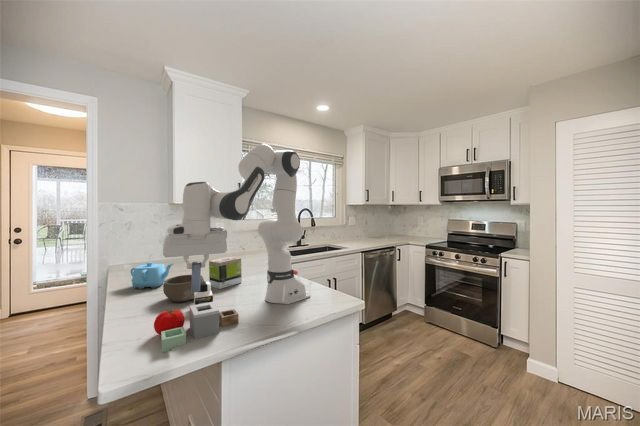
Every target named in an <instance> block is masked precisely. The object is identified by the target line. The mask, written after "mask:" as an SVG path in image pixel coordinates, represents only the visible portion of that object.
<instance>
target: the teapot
mask: <svg viewBox="0 0 640 426" xmlns="http://www.w3.org/2000/svg"><path fill="white" fill-rule="evenodd" d="M173 265H174V263H169V264H167V266H165V263H154V262H153V261H149V262H146V263H145V264H139V265H138V266H134V267H132V268H131V269H130V271H129V272H130V275H131V276H132V278H131V284H132V288H138V290H143V289H145V288H150V287H151V289H157V288H158V287H159V286H161V285H163V284H164V282H165V281H166V280H167V279H166V278H167V277H168V275H169V273H170V270H171V267H172V266H173Z"/></svg>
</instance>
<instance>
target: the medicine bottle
mask: <svg viewBox="0 0 640 426" xmlns="http://www.w3.org/2000/svg"><path fill="white" fill-rule="evenodd" d="M208 302H213V303H214V294H213V291H212V287H211V283H210V281H206V280H204V282H200V291H199V292H195V293H194V299H193V305H197V304H203V303H208Z"/></svg>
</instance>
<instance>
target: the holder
mask: <svg viewBox="0 0 640 426" xmlns="http://www.w3.org/2000/svg"><path fill="white" fill-rule="evenodd" d="M239 323H240V322H239V313H238V312H237V310H236V309H235V308H232V309H226V310H222V311H219V326H221V327H222V328H224V327H229V326H235V325H238V324H239Z"/></svg>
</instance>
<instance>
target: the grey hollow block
mask: <svg viewBox="0 0 640 426" xmlns="http://www.w3.org/2000/svg"><path fill="white" fill-rule="evenodd" d="M219 312H220V310H219V308H218V307H217V305H216V304H215V302H214V301H213V302H208V303H203V304H197V305H194V304H193V305H189V330H190V332H191V335H192V336H193V339H194V340H196V339H197V340H198V339H200V338H204V337H208V336H213V335H217V334H220V323H219Z"/></svg>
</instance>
